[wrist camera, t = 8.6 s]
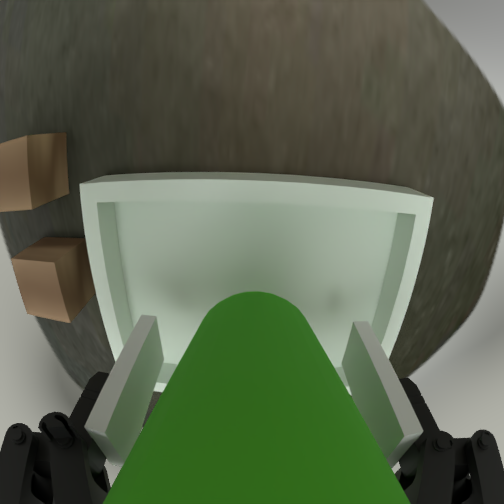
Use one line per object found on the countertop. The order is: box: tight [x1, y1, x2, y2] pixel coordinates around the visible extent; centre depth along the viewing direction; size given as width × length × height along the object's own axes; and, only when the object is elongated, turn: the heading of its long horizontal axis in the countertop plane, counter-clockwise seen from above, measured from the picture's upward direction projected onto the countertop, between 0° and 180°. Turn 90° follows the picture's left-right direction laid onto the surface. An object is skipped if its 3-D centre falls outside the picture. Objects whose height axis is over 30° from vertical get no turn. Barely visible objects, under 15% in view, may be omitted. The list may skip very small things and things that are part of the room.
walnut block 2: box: [11, 237, 96, 323], centre depth 15 cm, size 4×4×4 cm
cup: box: [103, 291, 411, 504], centre depth 9 cm, size 9×9×11 cm
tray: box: [79, 172, 434, 395], centre depth 16 cm, size 14×18×3 cm
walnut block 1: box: [0, 132, 69, 212], centre depth 13 cm, size 4×4×4 cm
